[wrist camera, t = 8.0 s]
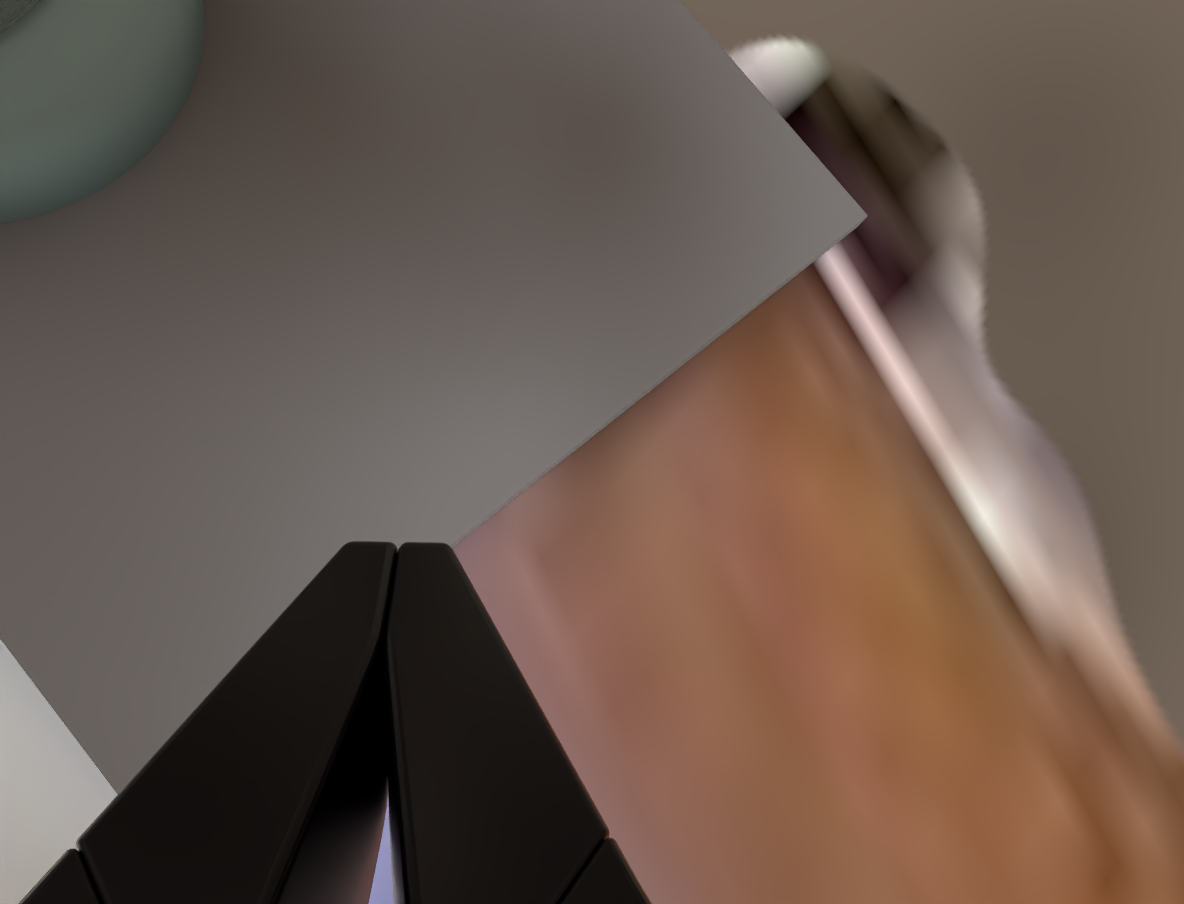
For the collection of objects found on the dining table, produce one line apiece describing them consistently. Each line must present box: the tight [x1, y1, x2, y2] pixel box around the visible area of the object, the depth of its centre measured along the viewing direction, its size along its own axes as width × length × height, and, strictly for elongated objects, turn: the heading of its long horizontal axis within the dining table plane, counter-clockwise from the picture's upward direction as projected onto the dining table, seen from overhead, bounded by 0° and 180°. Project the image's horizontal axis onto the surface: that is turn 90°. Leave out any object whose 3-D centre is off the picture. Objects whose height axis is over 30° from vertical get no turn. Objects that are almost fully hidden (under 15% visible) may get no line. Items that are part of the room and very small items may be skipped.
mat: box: [0, 0, 868, 794], centre depth 21 cm, size 19×19×1 cm
